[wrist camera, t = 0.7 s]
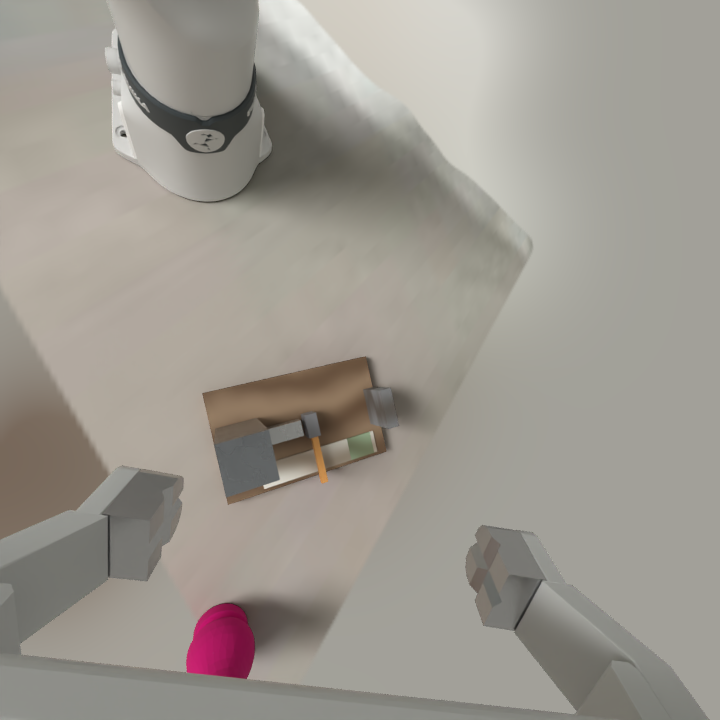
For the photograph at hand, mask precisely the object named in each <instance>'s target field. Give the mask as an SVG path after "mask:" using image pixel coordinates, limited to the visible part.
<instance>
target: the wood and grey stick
mask: <svg viewBox="0 0 720 720" xmlns="http://www.w3.org/2000/svg"><path fill="white" fill-rule="evenodd" d="M301 418H302V422H303V427H304V431H305V436H306V437H308V438H309V439H311V441H312V445H313V450H314V454H315V459H316V463H317V468H318V472H319V477H320V481H321V483H325V482H328V478H327V474H326V469H325V465H324V460H323V456H322V451H321V447H320V442H319V438H318V436H321V433H320V428H319V424H318V419H317V415H316V412H313V411H310V412H306V413H303V414H301Z"/></svg>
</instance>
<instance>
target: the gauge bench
mask: <svg viewBox="0 0 720 720" xmlns="http://www.w3.org/2000/svg"><path fill="white" fill-rule="evenodd" d="M203 398H204V403H205V407H206V411H207V416H208V420H209V424H210V429H211V433H212V437H213V442H214V438H215V429H216V428H220V427H223V426H227V425H231V424H235V423H239V422H242V421H246V420H250V419H254V418H257V419H258V420H259V421H260V422H261V423H262V424H263V425H265V426H266V427H269V426H273V425H277V424H280V423H284V422H288V421H291V420H295V419H299V420H301V424H302V429H303V433H304V436H301V437H298V438H295V439H291V440H288V441H284V442H281V443H277V444H274V445H272V446H273V451H274V455H275V459H276V464H277V468H278V473H279V477H280V480H278V481H275V482H272V483H269V484H266V485H263V486H260V487H257V488H254V489H251V490H248V491H245V492H242V493H239V494H236V495H233V496H230V497H227V502H228V505H229V504H232V503H235V502H238V501H241V500H244V499H247V498H250V497H253V496H256V495H259V494H262V493H264V492H267V491H270V490H273V489H276V488H279V487H282V486H285V485H288V484H291V483H294V482H297V481H300V480H303V479H306V478H309V477H312V476H315V475H318V474H319V472H318V468H317V463H316V459H315V454H314V450H313V445H312V441H311V439H309V438H308V437H306V436H305V431H304V427H303V422H302V418H301V414H303V413H306V412H310V411H313V412H316V415H317V419H318V424H319V428H320V433H321V436H318V438H319V442H320V447H321V451H322V456H323V460H324V465H325V469H326V472H327V471H330V470H333V469H336V468H339V467H342V466H344V465H347V464H350V463H353V462H356V461H359V460H362V459H365V458H368V457H371V456H374V455H377V454H380V453H383V452H386V447H385V442H384V438H383V433H382V429H381V427H383V428H387V429H390V428H393V427H397V426H399V424H398V419H397V414H396V410H395V405H394V401H393V396H392V391H391V388H381V387H372V383H371V378H370V373H369V369H368V364H367V360H366V357H360V358H356V359H351V360H347V361H343V362H338V363H334V364H329V365H325V366H321V367H316V368H312V369H307V370H303V371H298V372H294V373H290V374H285V375H281V376H276V377H272V378H268V379H263V380H259V381H254V382H250V383H246V384H241V385H237V386H232V387H228V388H224V389H219V390H215V391H210V392H206V393H203Z"/></svg>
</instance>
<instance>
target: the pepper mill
mask: <svg viewBox="0 0 720 720" xmlns="http://www.w3.org/2000/svg"><path fill="white" fill-rule="evenodd" d="M254 653H255V642H254V636H253V633H252V631H251V629H250V627H249V626H248V621H247V617H246V614H245V613H244V611H243V610H242V609H241V608H240V607H238V606H236V605H234V604H229V603H228V604H220V605H217V606H215V607H213V608H211V609H209V610H208V611H207V612H206V613H204V614H203V615H202V617H201V618H200V619H199V621H198V623H197V624H196V627H195V630H194V636H193V641H192V643H191V645H190V647H189V650H188V654H187V660H186V666H187V673H195V674H204V675H214V676H223V677H232V678H241V679H247V677H248V675H249V673H250V670H251V667H252V663H253V659H254Z"/></svg>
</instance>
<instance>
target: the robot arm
mask: <svg viewBox="0 0 720 720" xmlns="http://www.w3.org/2000/svg"><path fill="white" fill-rule="evenodd" d="M106 2H107V4H108V7H109V10H110V13H111V15H112V18H113V21H114V24H115V27H116V29H114V30H113V32H112V47H108V46H107V47H105V56H106V62H107V67H108V70H109V72H111V73H112V80H111V86H112V143H113V147H114V149H115V151H116V152H117V153H118V154H119V155H120V156H122V157H124V158H125V159H127V160H129V161H131V162H133V163H135V164H137V165H139V166H141V167H142V168H143V169H144V170H145V171H146V172H147V173H148V174H149V175H150V176H151V177H152V178H153V179H154V180H156V181H157V182H158V183H159V184H160V185H162V186H163V187H164V188H166V189H167V190H169V191H171V192H173V193H175V194H177V195H179V196H182V197H184V198H187V199H191V200H196V201H218V200H223V199H226V198H229V197H231V196H233V195H235V194H237V193H238V192H240V191H241V190H242V189H243V188H244V187H245V186H246V185H247V184H248V182H249V181H250V179H251V178H252V175H253V173H254V171H255V169H256V167H257V165H258V164H259V163H260V162H262V161H263V160H264V159H265V158H267V157H268V156H269V155H270V153H271V151H272V142H271V140H270V137H269V135H268V132H267V130H266V128H265V125H264V116H265V114H264V109H263V108H262V107H260V103H259V101H258V98H257V96H256V90H257V85H256V84H257V82H256V69H255V64H254V57H255V48H256V39H257V29H258V20H259V3H258V0H106ZM122 134H126V135H127V137H122V136H121V135H122ZM183 484H184V478H183V477H182V476H178V475H173V474H168V473H162V472H157V471H152V470H146V469H139V468H134V467H128V466H123V465H122V466H120V467H118V468H116V469H115V470H114V471H113V472H112V473H111V474H110V475H109V477H108V478H107V479H106V480H105V481H104V482H103V483H102V484H101V485H100V486H99V487H98V488H97V489H96V490H95V491H94V492H93V493H92V494H91V495H90V497H89V498H88V499H87V500H86V501H85V502H84V503H83V504H82V505H81V506H80V507H79V508H78V509H77V510H76V511H72V510H68V511H66V512H64V513H62V514H59V515H57V516H54V517H52V518H50V519H47V520H45V521H43V522H40V523H38V524H36V525H33V526H31V527H29V528H26V529H24V530H22V531H19V532H17V533H15V534H12V535H10V536H8V537H5V538H3V539H1V540H0V720H709V719H708V717H707V716H706V715H705V713H704V712H703V710H702V709H701V708H700V706H699V705H698V704H697V702H696V701H695V699H694V698H693V697H692V695H691V694H690V693H689V691H688V690H687V688H686V687H685V686H684V684H683V683H682V682H681V680H680V679H679V677H678V676H677V675H676V673H675V672H674V671H673V669H672V668H671V666H669V665H668V664H667V663H666V662H665V661H663V660H662V659H661V658H660V657H659V656H657V655H656V654H655V653H654V652H652V651H651V650H650V649H649V648H648V647H646V646H645V645H644V644H643V643H642V642H640V641H639V640H638V639H637V638H636V637H634V636H633V635H632V634H631V633H629V632H628V631H627V630H626V629H625V628H624V627H622V626H621V625H620V624H619V623H617V622H616V621H615V620H614V619H613V618H611V617H610V616H609V615H608V614H607V613H605V612H604V611H603V610H601V609H600V608H599V607H598V606H597V605H596V604H595V603H593V602H592V601H591V600H590V599H589V598H587V597H586V596H585V595H584V594H582V593H581V592H580V591H579V590H578V589H576V588H575V587H574V586H573V585H569V584H566V582H565V580H564V579H563V577H562V575H561V574H560V572H559V571H558V569H557V567H556V566H555V564H554V562H553V561H552V559H551V558H550V556H549V554H548V553H547V551H546V549H545V548H544V546H543V544H542V543H541V541H540V540H539V538H538V536H536V535H535V534H534V533H533V532H527V531H520V530H510V529H504V528H497V527H491V526H485V525H482V526H480V527H479V528H478V530H477V532H476V535H475V536H476V539H477V543H476V544H474V545H473V546H471V547H470V548H469V551H468V554H467V556H466V575H467V578H468V582H469V584H470V586H471V587H472V588H473V589H474V590H475V591H476V592H477V593H478V594H477V596H476V599H475V603H476V605H477V608H478V611H479V614H480V617H481V620H482V623H483V626H488V627H494V628H500V629H506V630H512V631H515V632H514V633H515V634H516V636H517V637H518V638H519V639H520V640H521V642H522V643H523V644H524V645H525V647H526V648H527V649H528V651H529V652H530V653H531V654H532V656H533V657H534V658H535V659H536V661H537V662H538V663H539V664H540V666H541V667H542V668H543V669H544V671H545V672H546V673H547V674H548V676H549V677H550V678H551V679H552V681H553V682H554V683H555V684H556V686H557V687H558V688H559V689H560V691H561V692H562V693H563V695H564V696H565V697H566V698H567V699H568V701H569V702H570V703H571V705H572V706H573V707H574V708H575V710H576V711H577V712H576V713H575V714H566V713H556V712H548V711H539V710H529V709H520V708H510V707H501V706H492V705H483V704H473V703H463V702H454V701H445V700H435V699H426V698H416V697H407V696H398V695H388V694H378V693H370V692H361V691H351V690H342V689H333V688H323V687H314V686H305V685H296V684H287V683H278V682H269V681H260V680H251V679H241V678H232V677H223V676H214V675H204V674H195V673H186V672H177V671H167V670H157V669H149V668H139V667H130V666H121V665H111V664H102V663H93V662H84V661H74V660H65V659H56V658H46V657H38V656H27V655H21V649H20V643H22V642H23V641H24V640H26V639H27V638H29V637H30V636H31V635H33V634H34V633H36V632H37V631H38V630H40V629H41V628H42V627H44V626H45V625H46V624H48V623H49V622H51V621H52V620H53V619H55V618H56V617H57V616H59V615H60V614H61V613H63V612H64V611H66V610H67V609H68V608H70V607H71V606H72V605H74V604H75V603H77V602H78V601H79V600H81V599H82V598H84V597H85V596H86V595H88V594H89V593H90V592H92V591H93V590H95V589H96V588H97V587H99V586H100V585H101V584H103V583H104V582H105V581H106V580H108V577H109V578H119V579H129V580H140V581H148V579H149V577H150V575H151V574H152V572H153V570H154V568H155V567H156V565H157V563H158V561H159V560H160V558H161V551H162V546H163V545H165V544H166V543H168V542H170V540H171V538H172V536H173V534H174V532H175V530H176V527H177V525H178V522H179V519H180V515H181V510H182V502H181V500H180V499H179V498H178V497H179V495H180V494H181V492H182V490H183Z"/></svg>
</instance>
